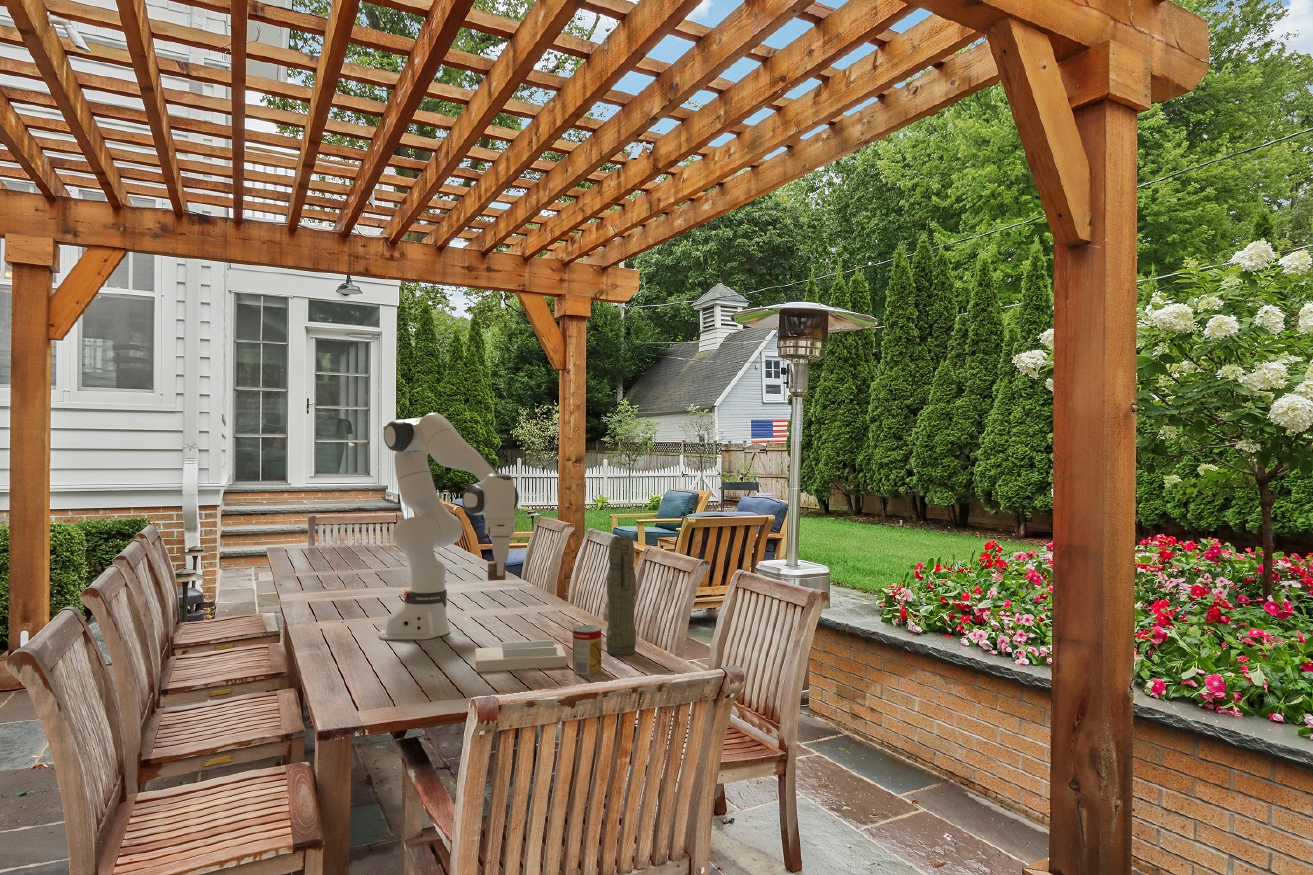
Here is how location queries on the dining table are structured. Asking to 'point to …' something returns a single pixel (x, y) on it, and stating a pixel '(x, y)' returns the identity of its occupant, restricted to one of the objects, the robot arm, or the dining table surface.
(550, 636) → the dining table surface
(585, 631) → the canned food
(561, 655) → the channel
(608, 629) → the thermos
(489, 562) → the walnut block
